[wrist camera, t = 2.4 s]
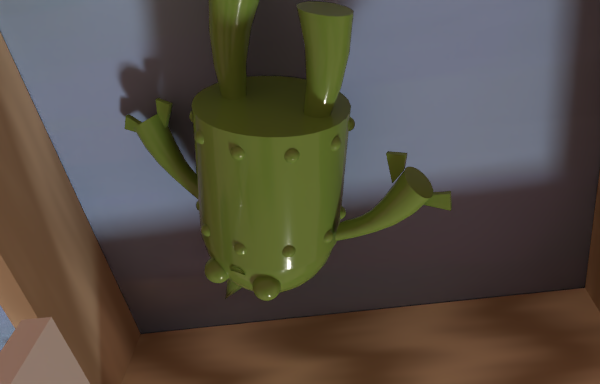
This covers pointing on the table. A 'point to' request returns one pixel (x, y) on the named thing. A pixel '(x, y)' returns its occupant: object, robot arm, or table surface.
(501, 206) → the table surface
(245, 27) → the character figure
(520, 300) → the bin
